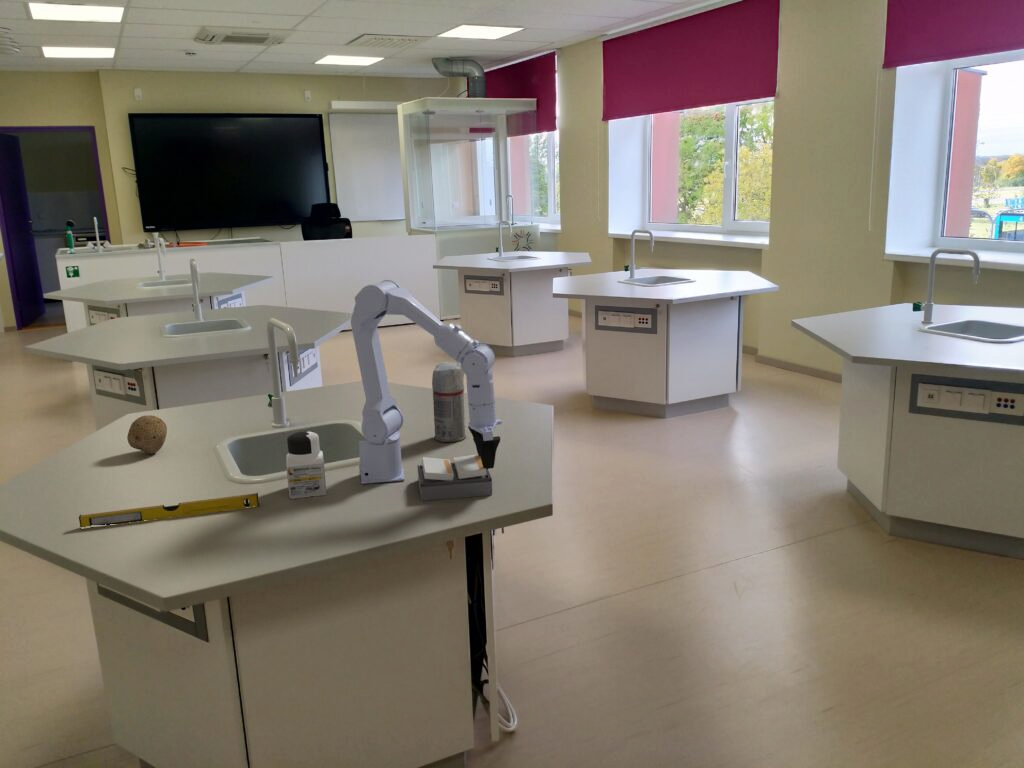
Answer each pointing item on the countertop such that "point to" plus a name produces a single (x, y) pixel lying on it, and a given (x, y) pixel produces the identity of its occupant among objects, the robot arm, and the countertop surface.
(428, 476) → the panel
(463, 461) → the rocker right
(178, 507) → the spirit level
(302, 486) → the container
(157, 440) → the brown potato
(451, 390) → the spray can
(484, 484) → the grey divided tray
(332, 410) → the countertop surface
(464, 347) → the robot arm
